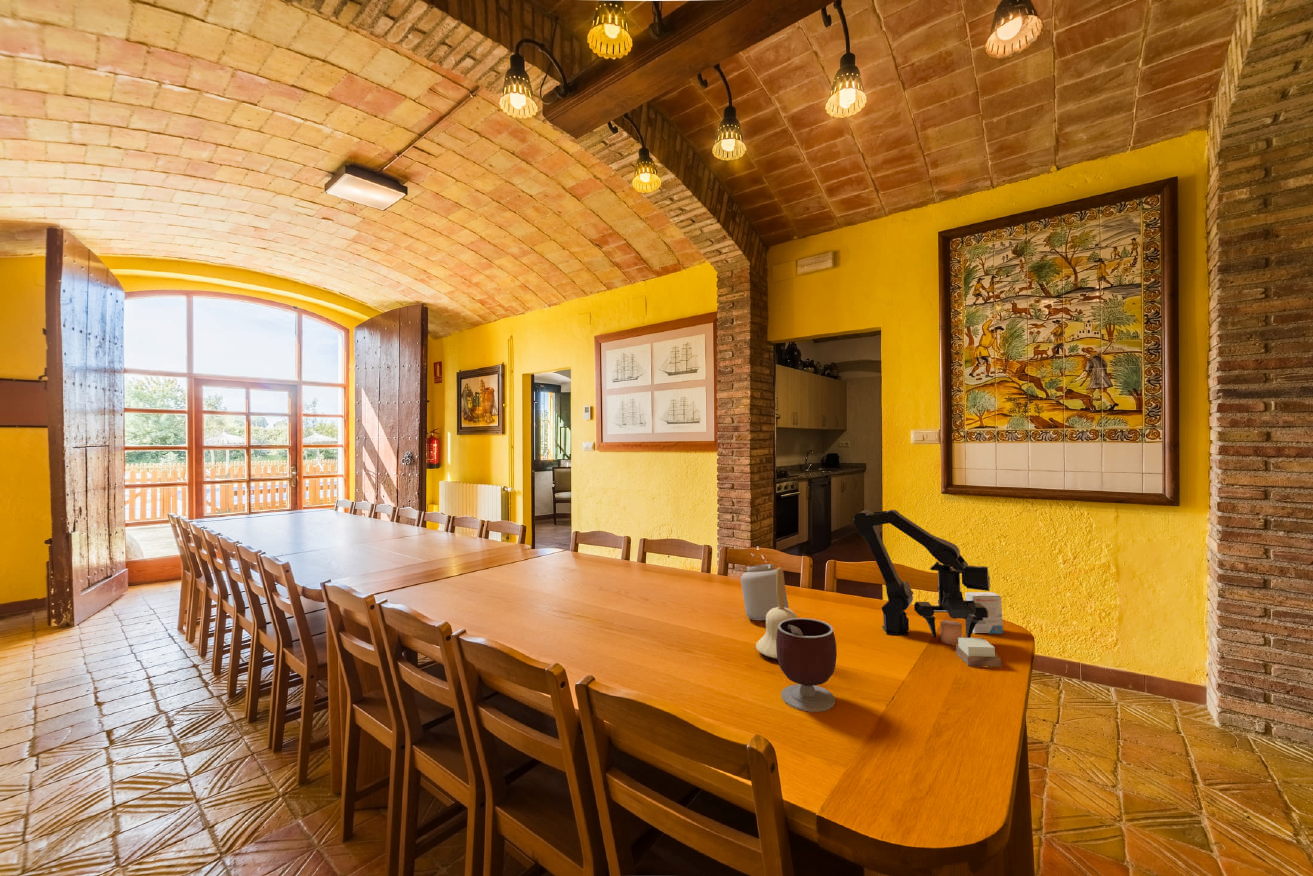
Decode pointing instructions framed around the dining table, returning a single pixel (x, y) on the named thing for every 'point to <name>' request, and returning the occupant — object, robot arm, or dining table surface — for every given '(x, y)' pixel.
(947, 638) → the terracotta cylinder
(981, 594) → the ink box
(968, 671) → the dining table surface
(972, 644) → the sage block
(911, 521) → the robot arm
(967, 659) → the walnut slab
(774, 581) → the jar
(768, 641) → the handbell
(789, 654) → the mate gourd
